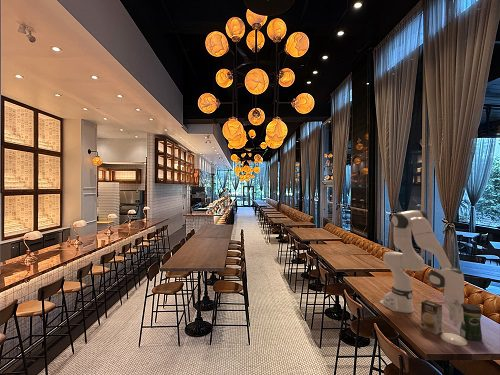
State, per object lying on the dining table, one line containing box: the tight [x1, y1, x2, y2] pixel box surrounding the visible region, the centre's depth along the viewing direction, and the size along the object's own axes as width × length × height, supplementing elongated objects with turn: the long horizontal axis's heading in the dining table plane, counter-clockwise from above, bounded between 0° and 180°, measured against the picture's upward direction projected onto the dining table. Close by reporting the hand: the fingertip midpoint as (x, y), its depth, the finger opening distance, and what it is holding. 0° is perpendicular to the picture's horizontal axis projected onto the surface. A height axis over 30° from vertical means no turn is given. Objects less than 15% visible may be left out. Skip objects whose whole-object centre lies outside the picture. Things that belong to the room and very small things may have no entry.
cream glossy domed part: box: [440, 332, 468, 347], centre depth 159 cm, size 12×12×1 cm
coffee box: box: [420, 299, 443, 335], centre depth 171 cm, size 9×6×16 cm
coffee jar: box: [459, 303, 483, 341], centre depth 163 cm, size 10×8×19 cm
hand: (453, 322), depth 159 cm, fingers open, 6 cm apart
